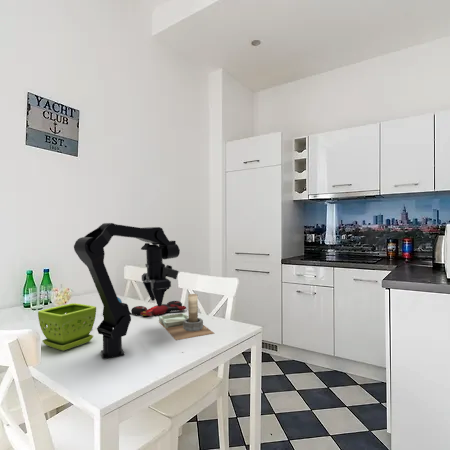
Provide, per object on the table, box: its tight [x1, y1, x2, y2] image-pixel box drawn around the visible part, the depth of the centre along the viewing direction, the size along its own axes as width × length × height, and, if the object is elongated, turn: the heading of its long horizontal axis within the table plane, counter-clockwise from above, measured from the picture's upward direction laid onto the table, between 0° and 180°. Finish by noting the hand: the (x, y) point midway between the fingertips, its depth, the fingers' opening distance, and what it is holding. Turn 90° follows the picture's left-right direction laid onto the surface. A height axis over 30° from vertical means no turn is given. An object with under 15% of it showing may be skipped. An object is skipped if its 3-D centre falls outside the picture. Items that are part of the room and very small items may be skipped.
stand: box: [158, 312, 215, 341], centre depth 124 cm, size 26×15×4 cm, turn 26°
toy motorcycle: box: [130, 300, 187, 317], centre depth 148 cm, size 25×5×16 cm
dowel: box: [187, 293, 199, 323], centre depth 122 cm, size 4×4×13 cm
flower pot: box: [37, 302, 97, 351], centre depth 109 cm, size 14×14×13 cm
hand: (156, 303), depth 115 cm, fingers open, 9 cm apart
